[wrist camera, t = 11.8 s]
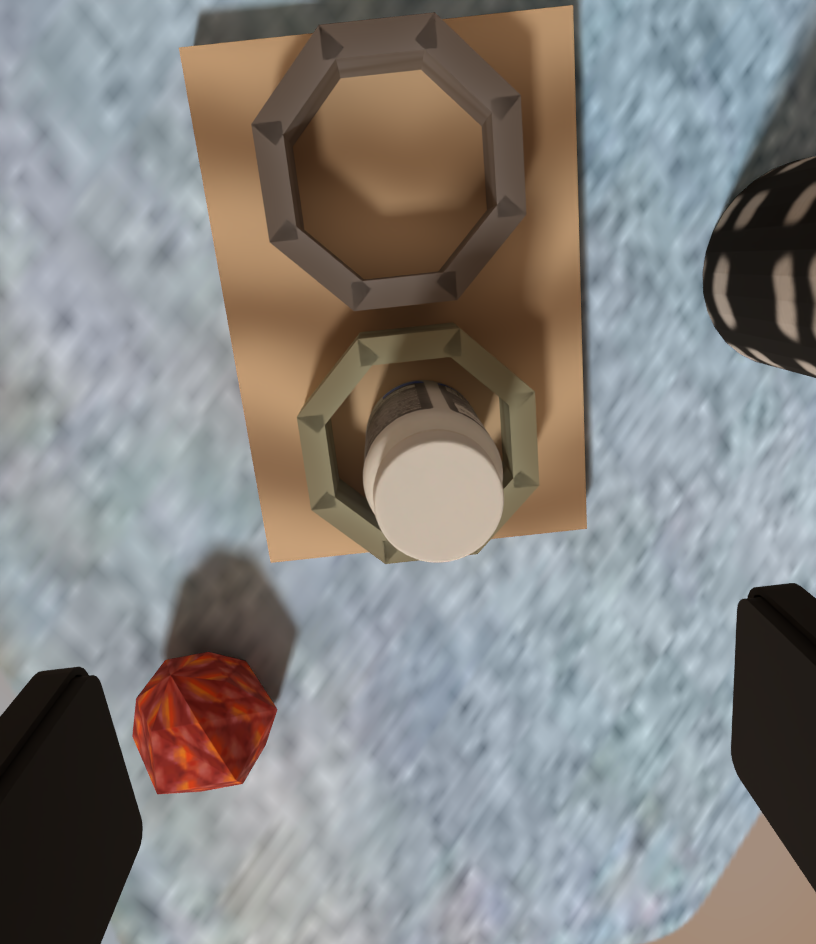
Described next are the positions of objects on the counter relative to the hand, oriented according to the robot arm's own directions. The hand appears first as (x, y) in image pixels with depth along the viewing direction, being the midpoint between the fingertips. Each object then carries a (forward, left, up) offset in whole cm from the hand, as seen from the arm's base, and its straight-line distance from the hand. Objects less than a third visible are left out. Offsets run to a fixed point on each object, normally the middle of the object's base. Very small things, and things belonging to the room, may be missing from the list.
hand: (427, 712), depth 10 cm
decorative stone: (+13, -10, -21) cm, 27 cm away
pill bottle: (+1, +1, -19) cm, 19 cm away
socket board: (-4, +1, -21) cm, 21 cm away
